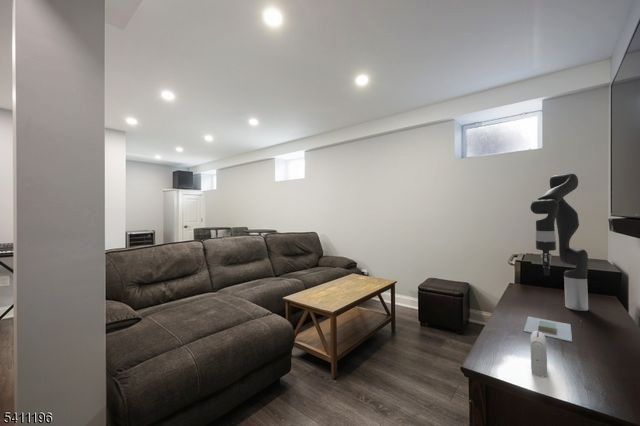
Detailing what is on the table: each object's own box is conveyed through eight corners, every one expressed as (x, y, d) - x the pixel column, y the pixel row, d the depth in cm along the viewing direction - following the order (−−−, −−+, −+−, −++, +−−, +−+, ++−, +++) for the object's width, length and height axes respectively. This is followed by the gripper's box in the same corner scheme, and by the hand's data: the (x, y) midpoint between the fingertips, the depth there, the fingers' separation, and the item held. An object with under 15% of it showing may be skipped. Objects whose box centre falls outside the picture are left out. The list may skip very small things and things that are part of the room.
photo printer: (547, 378, 86) (546, 340, 87) (530, 374, 89) (529, 337, 89) (547, 364, 94) (546, 329, 94) (531, 360, 97) (530, 326, 97)
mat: (528, 317, 137) (528, 316, 137) (570, 325, 126) (570, 324, 126) (523, 331, 121) (523, 330, 121) (572, 342, 110) (572, 341, 110)
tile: (539, 320, 127) (538, 325, 121) (555, 323, 123) (555, 329, 117) (539, 324, 127) (538, 330, 121) (556, 327, 123) (555, 333, 117)
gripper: (536, 238, 138) (537, 272, 138) (534, 241, 128) (536, 276, 128) (555, 239, 133) (557, 274, 133) (555, 241, 123) (556, 279, 123)
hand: (546, 275), depth 131 cm, fingers closed
